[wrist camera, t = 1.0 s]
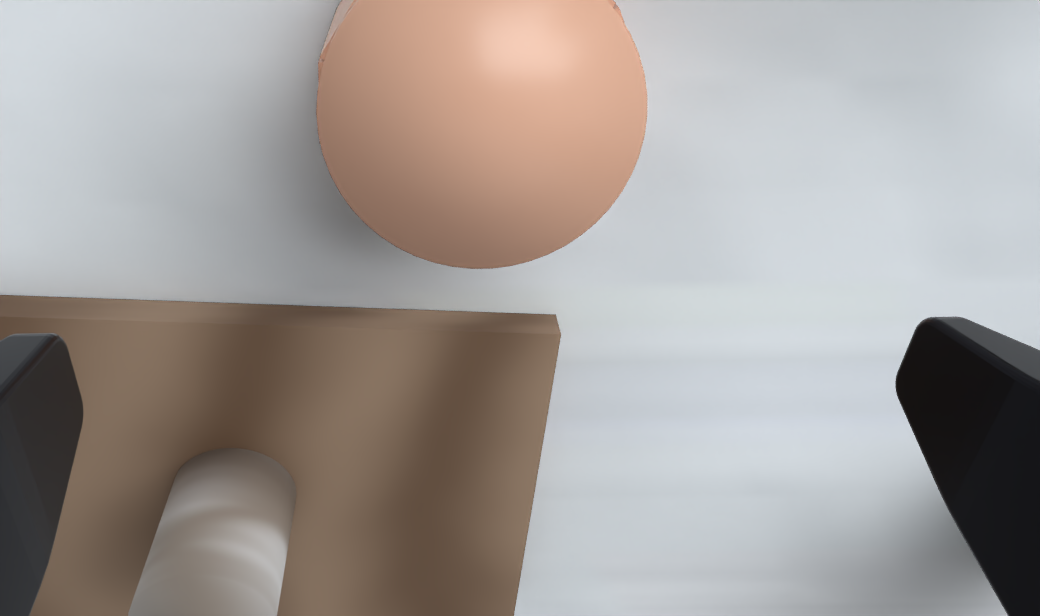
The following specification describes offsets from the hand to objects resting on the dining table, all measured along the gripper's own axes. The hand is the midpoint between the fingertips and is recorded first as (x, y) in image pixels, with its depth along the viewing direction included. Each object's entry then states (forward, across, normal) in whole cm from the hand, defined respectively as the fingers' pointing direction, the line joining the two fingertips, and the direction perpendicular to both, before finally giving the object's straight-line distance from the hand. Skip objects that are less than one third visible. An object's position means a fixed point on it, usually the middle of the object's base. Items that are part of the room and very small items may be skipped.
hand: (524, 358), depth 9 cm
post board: (+12, +6, +13) cm, 19 cm away
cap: (+12, -1, 0) cm, 12 cm away
